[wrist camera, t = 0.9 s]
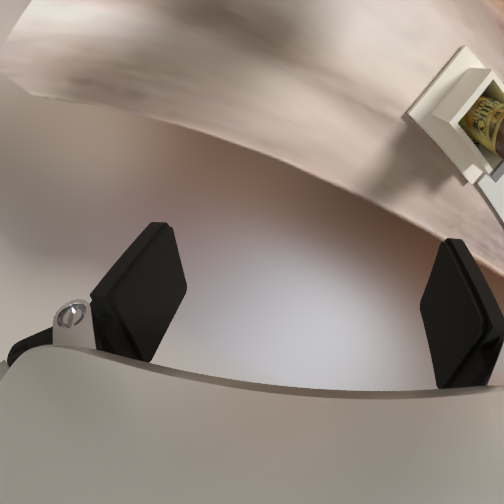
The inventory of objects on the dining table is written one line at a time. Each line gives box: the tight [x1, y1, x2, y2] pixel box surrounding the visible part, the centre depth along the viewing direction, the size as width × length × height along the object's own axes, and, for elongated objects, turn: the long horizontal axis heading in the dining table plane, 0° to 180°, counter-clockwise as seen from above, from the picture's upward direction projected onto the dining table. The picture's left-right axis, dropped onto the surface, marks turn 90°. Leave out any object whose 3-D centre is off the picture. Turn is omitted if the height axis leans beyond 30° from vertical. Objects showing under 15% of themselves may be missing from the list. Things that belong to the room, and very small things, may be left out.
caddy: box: [407, 45, 504, 185], centre depth 25 cm, size 14×14×8 cm
